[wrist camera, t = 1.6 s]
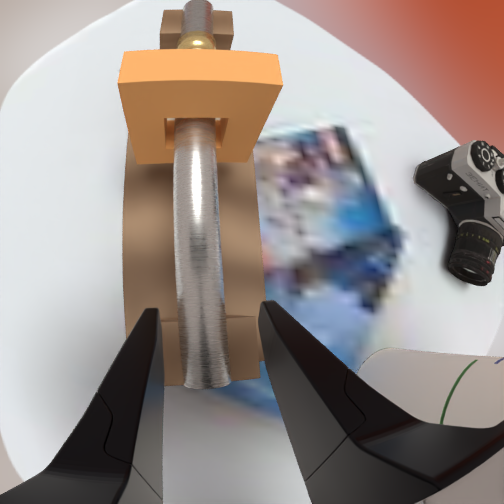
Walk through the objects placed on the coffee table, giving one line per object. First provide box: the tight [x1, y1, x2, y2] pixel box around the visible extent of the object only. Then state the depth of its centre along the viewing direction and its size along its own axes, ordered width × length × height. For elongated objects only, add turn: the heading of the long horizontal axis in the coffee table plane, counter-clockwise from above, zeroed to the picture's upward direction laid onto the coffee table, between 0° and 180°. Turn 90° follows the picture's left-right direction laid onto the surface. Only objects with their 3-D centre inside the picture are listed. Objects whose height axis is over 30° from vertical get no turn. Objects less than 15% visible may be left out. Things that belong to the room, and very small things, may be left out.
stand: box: [123, 10, 266, 386], centre depth 20 cm, size 25×10×8 cm, turn 4°
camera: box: [413, 140, 504, 286], centre depth 25 cm, size 15×11×10 cm
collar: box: [118, 49, 283, 165], centre depth 16 cm, size 2×7×8 cm, turn 95°
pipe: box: [173, 0, 231, 389], centre depth 16 cm, size 24×2×2 cm, turn 5°
